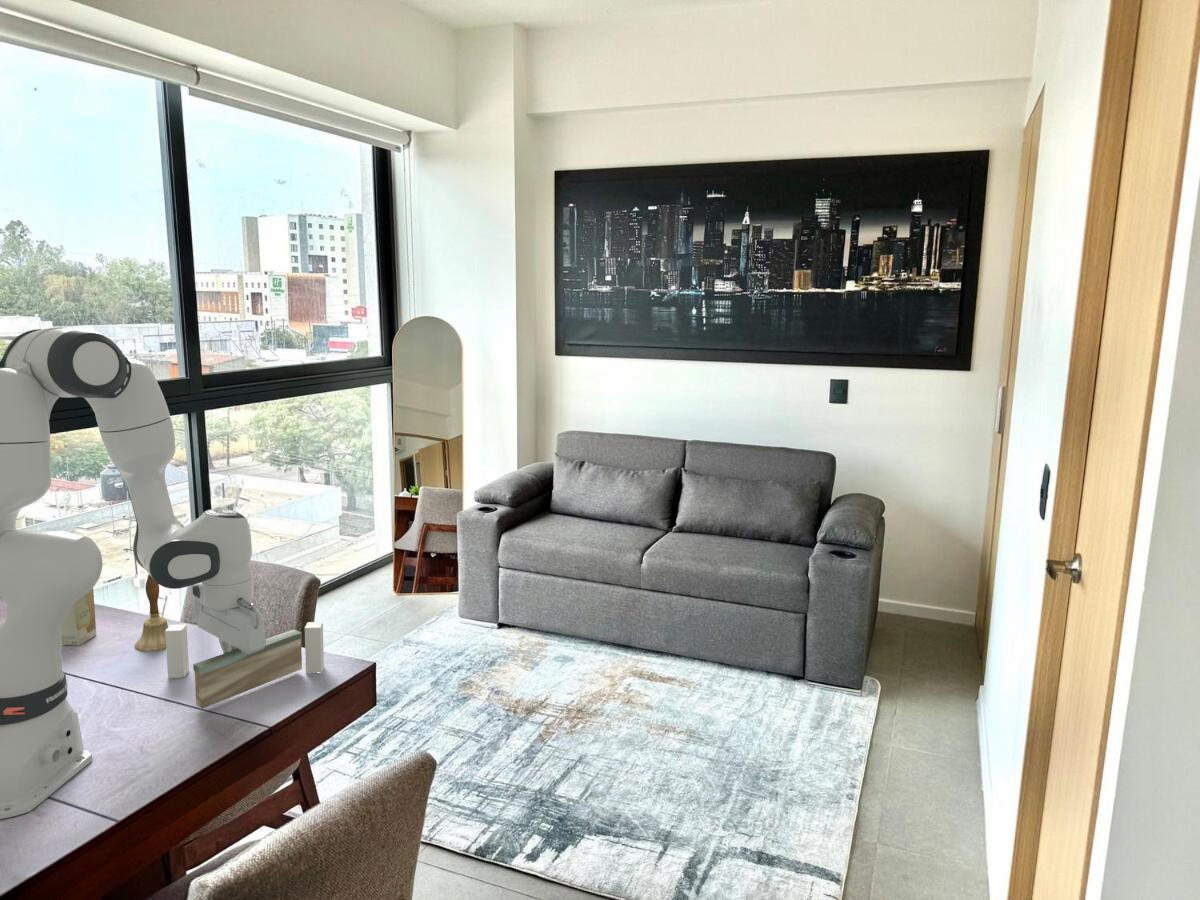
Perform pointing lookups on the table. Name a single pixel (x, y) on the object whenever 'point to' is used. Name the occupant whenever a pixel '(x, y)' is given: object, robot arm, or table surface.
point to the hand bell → (153, 622)
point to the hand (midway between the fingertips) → (231, 660)
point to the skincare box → (80, 621)
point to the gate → (247, 669)
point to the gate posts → (180, 661)
